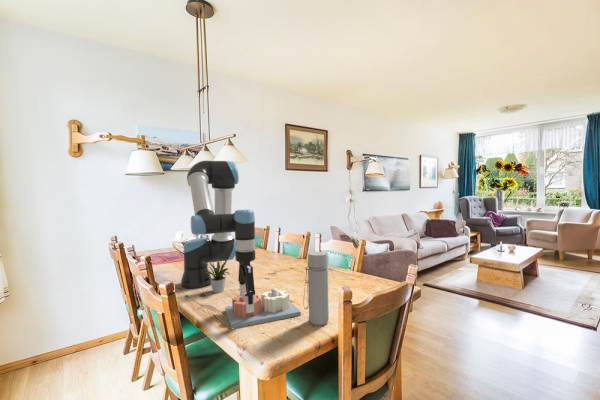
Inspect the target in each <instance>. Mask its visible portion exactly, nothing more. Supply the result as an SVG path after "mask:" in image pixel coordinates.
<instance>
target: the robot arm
mask: <svg viewBox="0 0 600 400" xmlns="http://www.w3.org/2000/svg"><path fill="white" fill-rule="evenodd" d="M239 180H240V177H239V171H238V166H237V164H236V163H235V162H233V161H229V160H201V161H198V162H196V163H195V164H193V165H192V166H191V167H190V168H189V170H188V172H187V176H186V182H187V185H188V186H189V187H190V192H191V193H190V194H191V200H192V203H193V204H192V206H193V211H194V215H192V216H191V217H190V229H191V230H190V231H191V234H193V235H203V236H204V235H210V234H211V238H210V239H211V240H210V239H209V240H208V239H207V237H200V238H194V239H190V240H188V241H185V242H184V244H183V250H182V252H183V268H184V269H183V273H182V277H181V280H180V287H182V288H183V289H184V288H185V289H198V288H203V287H207V286H209V285H212V284H211V278H212V276H211V274H208V273H206V272H207V271H209V270H210V269H209V264H210V262H211V263H212V262H213V263H216V262H218V258H219V262H221V261H222V260H223V261H222V262H225V261H226V260H228V259H229V260H228V261H231V260H233V259H235V261H236V262H238V280H237V281H238V283H239V295H241V296H243V293H246V294H245V296H246V313H251V312H254V295H256V290H255V282H254V281H255V279H254V267H253V266H252V265H251V262H254V261H255V260H256V250H255V249H256V237H255V236H256V233H255V232H256V231H255V230H256V228H255V227H256V226H255V223H256V222H255V221H256V218H255V212H254V210H253V209H237V210H235V211H234V213H232V198H233V197H232V193H233V190H234V189H235V188H236V185H238V184H239ZM209 185H211V188H212V189H213V190H214V206H213V202H212V198H211V194H210V189H209ZM232 233H234V235H233V234H232ZM210 260H211V261H210ZM204 262H205V263H204ZM206 263H207V264H206ZM209 272H210V271H209Z"/></svg>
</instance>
